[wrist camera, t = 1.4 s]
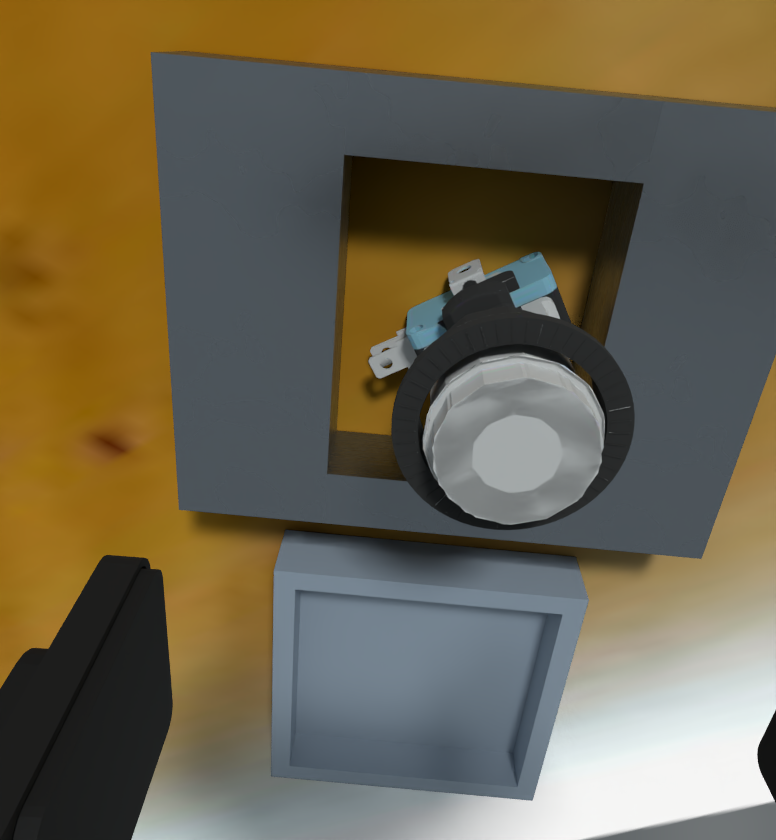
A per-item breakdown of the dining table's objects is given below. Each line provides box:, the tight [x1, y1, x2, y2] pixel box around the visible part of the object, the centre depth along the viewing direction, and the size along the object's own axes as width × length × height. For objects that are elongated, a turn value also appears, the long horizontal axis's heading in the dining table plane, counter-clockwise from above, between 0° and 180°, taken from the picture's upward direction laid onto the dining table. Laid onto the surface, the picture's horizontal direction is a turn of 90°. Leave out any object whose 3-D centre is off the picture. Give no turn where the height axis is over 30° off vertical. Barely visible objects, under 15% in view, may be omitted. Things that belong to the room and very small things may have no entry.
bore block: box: [151, 51, 776, 559], centre depth 23 cm, size 18×14×3 cm
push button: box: [368, 252, 635, 530], centre depth 20 cm, size 7×5×10 cm
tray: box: [271, 530, 589, 800], centre depth 30 cm, size 12×12×2 cm
